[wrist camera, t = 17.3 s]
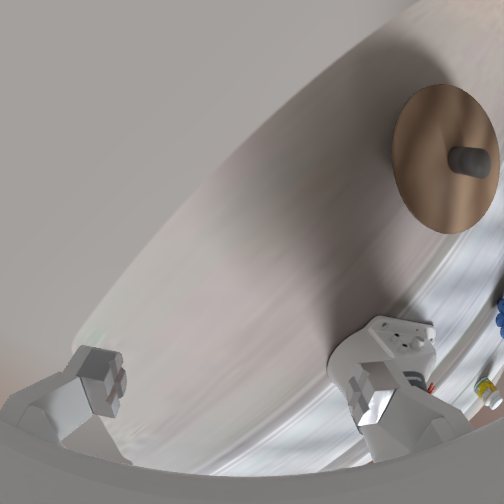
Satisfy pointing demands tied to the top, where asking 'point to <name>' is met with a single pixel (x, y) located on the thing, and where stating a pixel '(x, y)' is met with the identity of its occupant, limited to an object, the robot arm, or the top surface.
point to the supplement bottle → (488, 393)
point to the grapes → (501, 317)
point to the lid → (445, 158)
